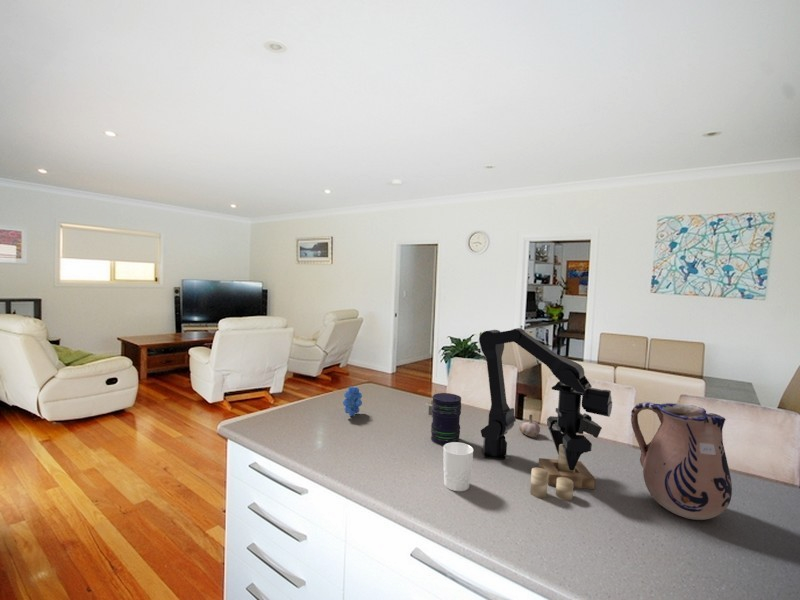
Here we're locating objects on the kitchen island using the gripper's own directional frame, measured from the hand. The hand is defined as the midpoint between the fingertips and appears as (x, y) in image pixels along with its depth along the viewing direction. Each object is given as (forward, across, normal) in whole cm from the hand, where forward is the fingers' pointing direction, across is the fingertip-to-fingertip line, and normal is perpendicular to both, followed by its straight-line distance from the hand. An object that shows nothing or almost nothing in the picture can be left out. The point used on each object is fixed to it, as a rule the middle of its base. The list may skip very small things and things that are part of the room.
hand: (565, 462), depth 110 cm
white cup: (+5, -9, +31) cm, 33 cm away
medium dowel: (+4, -10, +10) cm, 15 cm away
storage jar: (+5, +21, +33) cm, 39 cm away
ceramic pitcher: (+5, -11, -23) cm, 26 cm away
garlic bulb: (+5, +32, +2) cm, 32 cm away
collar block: (+4, 0, 0) cm, 4 cm away
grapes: (+5, +38, +68) cm, 78 cm away
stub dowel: (+5, -10, +4) cm, 12 cm away
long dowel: (+4, 0, 0) cm, 4 cm away
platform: (+5, +45, +35) cm, 57 cm away
